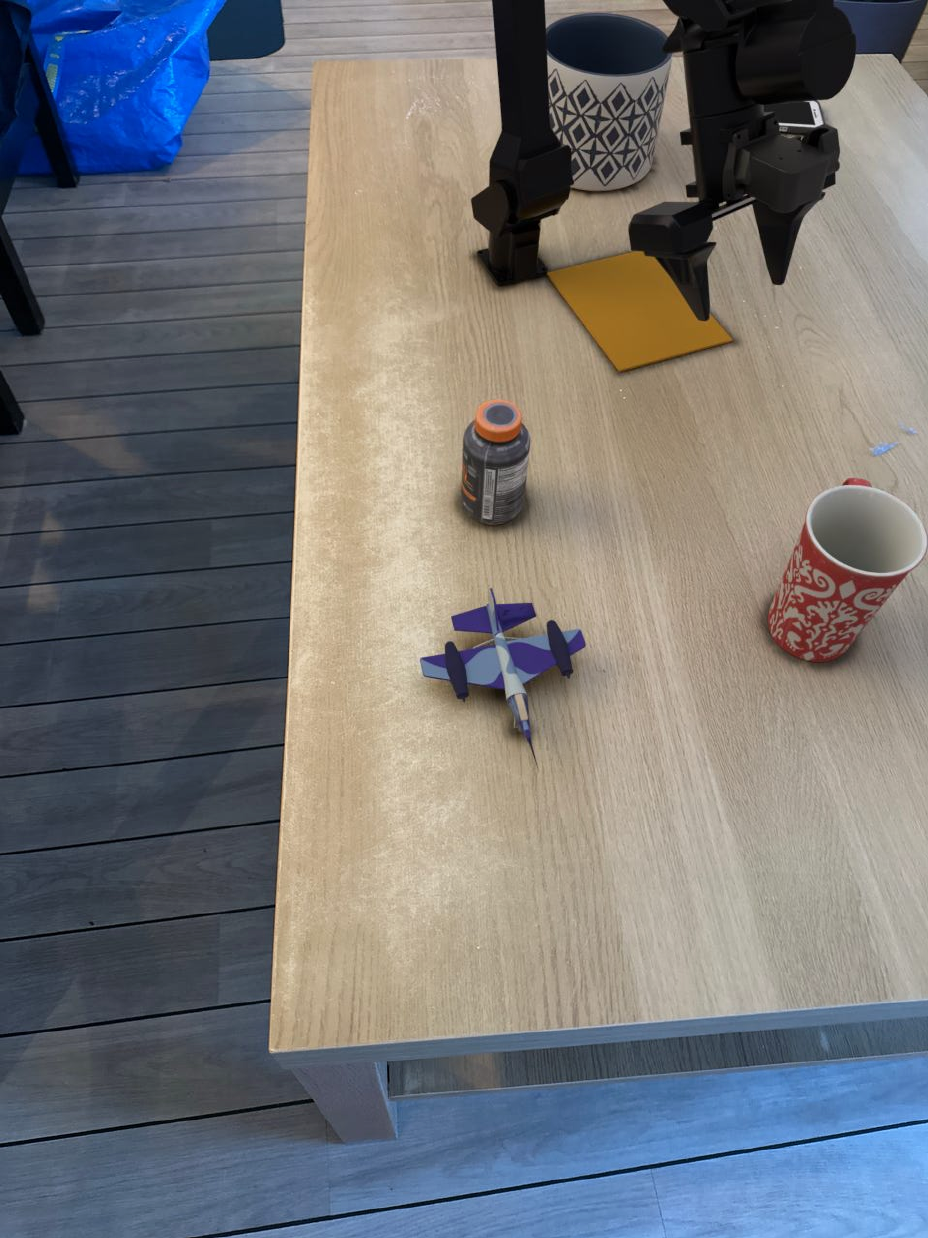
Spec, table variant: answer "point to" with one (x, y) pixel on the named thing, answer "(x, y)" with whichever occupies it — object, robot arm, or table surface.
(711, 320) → the cloth
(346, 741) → the table surface
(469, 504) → the pill bottle
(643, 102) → the planter
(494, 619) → the toy airplane
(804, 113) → the cell phone
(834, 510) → the mug
